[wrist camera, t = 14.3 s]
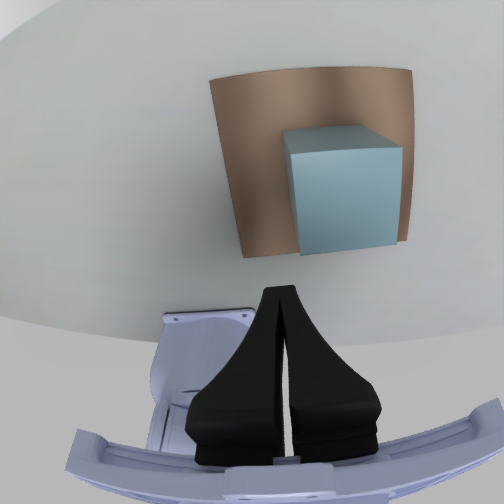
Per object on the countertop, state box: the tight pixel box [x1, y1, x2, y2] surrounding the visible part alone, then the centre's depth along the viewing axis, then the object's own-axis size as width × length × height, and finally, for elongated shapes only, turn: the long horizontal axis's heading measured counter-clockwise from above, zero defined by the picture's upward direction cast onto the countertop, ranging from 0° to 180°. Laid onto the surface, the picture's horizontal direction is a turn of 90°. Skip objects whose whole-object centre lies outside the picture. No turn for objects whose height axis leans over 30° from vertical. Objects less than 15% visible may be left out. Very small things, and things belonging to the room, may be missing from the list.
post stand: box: [209, 67, 414, 258], centre depth 17 cm, size 14×14×6 cm
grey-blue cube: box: [282, 125, 402, 256], centre depth 17 cm, size 6×6×7 cm
